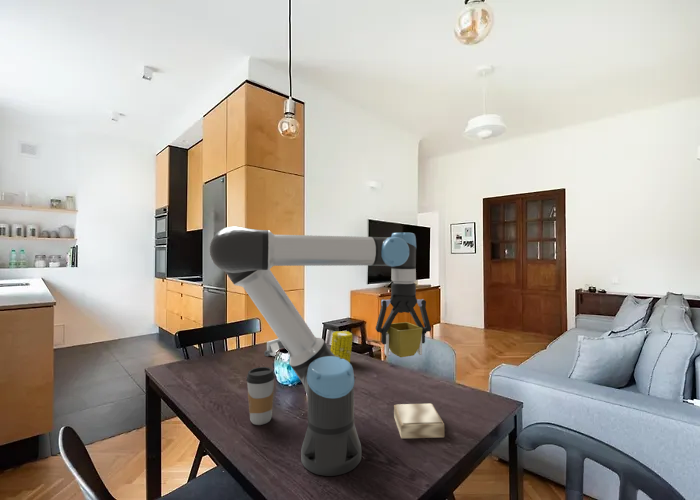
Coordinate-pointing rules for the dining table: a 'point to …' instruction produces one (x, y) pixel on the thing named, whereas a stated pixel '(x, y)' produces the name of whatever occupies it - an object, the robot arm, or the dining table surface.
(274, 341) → the toy car
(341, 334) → the food
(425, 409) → the cream square block
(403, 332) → the flower pot
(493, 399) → the dining table surface
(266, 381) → the coffee cup
